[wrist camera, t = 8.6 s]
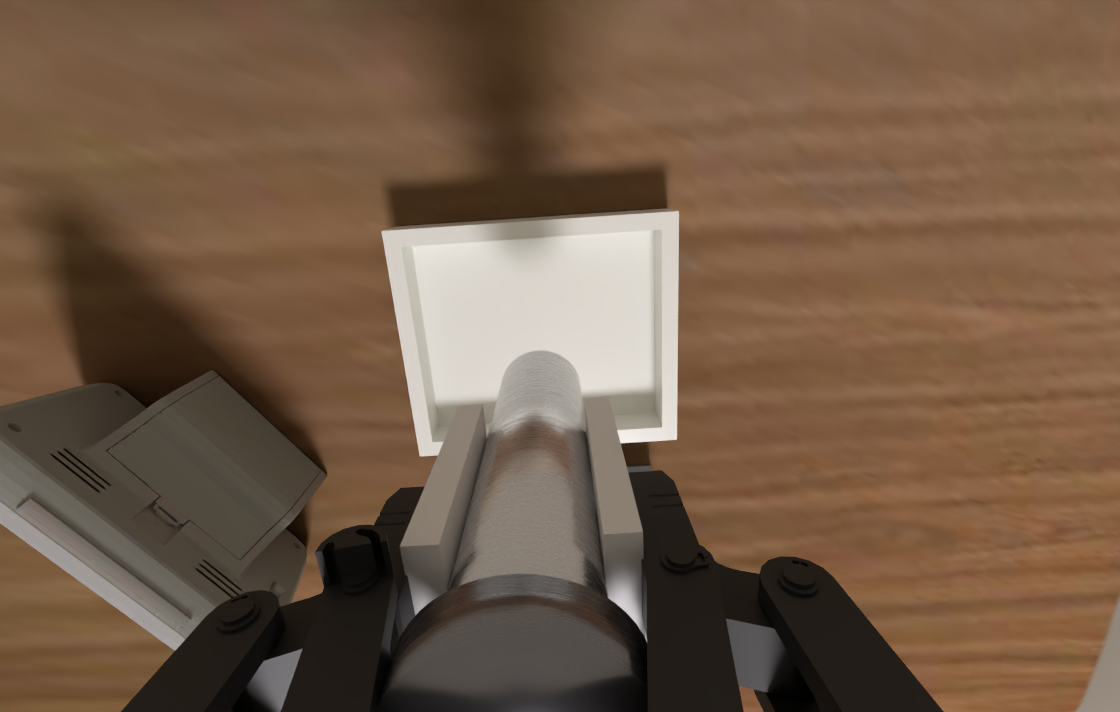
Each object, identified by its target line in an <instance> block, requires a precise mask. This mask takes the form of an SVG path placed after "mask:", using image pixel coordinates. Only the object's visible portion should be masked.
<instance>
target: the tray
mask: <svg viewBox="0 0 1120 712" xmlns="http://www.w3.org/2000/svg"><path fill="white" fill-rule="evenodd" d="M382 236H383V242H384V248H385V254H386V260H387V266H388V272H389V278H390V283H391V289H392V295H393V301H394V307H395V313H396V319H397V325H398V331H399V336H400V342H401V348H402V354H403V360H404V366H405V372H406V378H407V384H408V390H409V395H410V401H411V407H412V413H413V419H414V425H415V431H416V437H417V443H418V448H419V454H420V456H434V455H438V454H439V452H440V449H441V447H442V444H443V442H444V440H445V437H446V435H447V432H448V430H449V428H450V425H451V423H452V420H453V418H454V416H455V413H456V411H457V409H458V406H464V405H480V404H483V409H484V418H485V426H486V434H487V437H488V433H489V429H490V425H491V421H492V417H493V413H494V410H495V406H496V402H497V398H498V394H499V390H500V386H501V382H502V378H503V375H504V373H505V371H506V369H507V367H508V366H509V365H510V364H511V362H513V361H514V360H515V359H516V358H517V357H519V356H521V355H523V354H525V353H528V352H531V351H538V350H542V351H550V352H554V353H556V354H559V355H561V356H562V357H564V358H565V359H567V360H568V361H569V362H570V363H571V364H572V365H573V367H574V368H575V370H576V371H577V374H578V376H579V380H580V386H581V393H582V401H583V409H584V416H585V401H584V398H590V397H606V396H609V399H610V403H611V407H612V411H613V415H614V419H615V423H616V427H617V431H618V435H619V439H620V443H633V442H649V441H664V440H677V369H678V258H679V211H677V210H673V209H668V208H665V209H650V210H635V211H620V212H605V213H590V214H575V215H560V216H545V217H531V218H516V219H501V220H486V221H471V222H456V223H441V224H426V225H411V226H397V227H393V228H390V229H387V230H383V231H382ZM585 424H586V420H585Z"/></svg>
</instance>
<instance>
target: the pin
mask: <svg viewBox="0 0 1120 712" xmlns="http://www.w3.org/2000/svg"><path fill="white" fill-rule="evenodd" d="M377 711H378V712H648V684H647V641H646V639H645V637H644V635H643V633H642V632H641V630H640V629H639V627H638V626H637V624H636V623H635V622H634V621H633V619H632V618H631V617H630V616H629V615H628V614H627V613H626V612H625V611H624V610H623V609H622V608H620V607H619V606H618V605H617V604H616V603H615V602H613V601H611V600H610V599H608V592H607V588H606V584H605V576H604V568H603V560H602V553H601V545H600V537H599V529H598V521H597V514H596V506H595V498H594V490H593V482H592V475H591V467H590V459H589V451H588V443H587V436H586V424H585V416H584V409H583V401H582V393H581V386H580V380H579V376H578V374H577V371H576V370H575V368H574V367H573V365H572V364H571V363H570V362H569V361H568V360H567V359H565V358H564V357H562V356H561V355H559V354H556V353H554V352H550V351H542V350H538V351H531V352H528V353H525V354H523V355H521V356H519V357H517V358H516V359H515V360H514V361H513V362H511V364H510V365H509V366H508V367H507V369H506V371H505V373H504V375H503V378H502V382H501V386H500V390H499V394H498V398H497V402H496V406H495V410H494V413H493V417H492V421H491V425H490V429H489V433H488V437H487V441H486V445H485V449H484V452H483V456H482V460H481V464H480V468H479V472H478V476H477V480H476V484H475V488H474V491H473V495H472V499H471V503H470V507H469V511H468V515H467V519H466V523H465V527H464V530H463V534H462V538H461V542H460V546H459V550H458V554H457V558H456V562H455V566H454V569H453V573H452V577H451V581H450V585H449V589H448V591H447V592H445V593H443V594H442V595H440V596H439V597H437V598H435V599H434V600H432V601H431V602H430V603H429V604H427V605H426V606H425V607H424V608H422V609H421V610H420V611H419V612H418V613H417V614H416V615H415V617H414V618H413V619H412V620H411V621H410V622H409V624H408V625H407V627H406V628H405V630H404V631H403V633H402V634H401V637H400V639H399V641H398V643H397V646H396V648H395V651H394V654H393V657H392V660H391V663H390V666H389V669H388V672H387V675H386V678H385V681H384V685H383V688H382V692H381V695H380V698H379V702H378V705H377Z"/></svg>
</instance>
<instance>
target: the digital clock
mask: <svg viewBox="0 0 1120 712" xmlns="http://www.w3.org/2000/svg"><path fill="white" fill-rule="evenodd" d="M326 477H327V475H326V474H325V473H324V472H323V471H322V470H321V469H320V468H319V467H318V466H316V465H315V464H314V463H313V462H312V461H311V460H310V459H309V458H308V457H307V456H306V455H305V454H303V453H302V452H301V451H300V450H299V449H298V448H297V447H296V446H295V445H294V444H293V443H292V442H290V441H289V440H288V439H287V438H286V437H285V436H284V435H283V434H282V433H281V432H280V431H279V430H277V429H276V428H275V427H274V426H273V425H272V424H271V423H270V422H269V421H268V420H267V419H265V418H264V417H263V416H262V415H261V414H260V413H259V412H258V411H257V410H256V409H255V408H254V407H252V406H251V405H250V404H249V403H248V402H247V401H246V400H245V399H244V398H243V397H242V396H241V395H239V394H238V393H237V392H236V391H235V390H234V389H233V388H232V387H231V386H230V385H229V384H228V383H226V382H225V381H224V380H223V379H222V378H221V377H220V376H219V375H218V374H217V373H216V372H215V371H213V370H211V371H209V372H207V373H205V374H204V375H202V376H200V377H198V378H196V379H195V380H193V381H191V382H189V383H187V384H186V385H184V386H182V387H180V388H178V389H177V390H175V391H173V392H171V393H169V394H168V395H166V396H164V397H163V398H161V399H159V400H158V401H156V402H155V403H153V404H152V405H151V406H149V407H148V408H146V407H145V406H143V405H142V404H141V403H140V402H139V401H138V400H136V399H135V398H134V397H133V396H131V395H130V394H129V393H128V392H127V391H125V390H124V389H123V388H121V387H119V386H118V385H115V384H111V383H95V384H88V385H83V386H79V387H75V388H71V389H67V390H63V391H59V392H55V393H51V394H48V395H44V396H40V397H36V398H32V399H28V400H24V401H20V402H16V403H12V404H8V405H4V406H0V524H2V525H3V526H5V527H6V528H7V529H9V530H10V531H11V532H13V533H14V534H16V535H17V536H18V537H20V538H21V539H22V540H24V541H25V542H27V543H28V544H29V545H31V546H32V547H33V548H35V549H36V550H37V551H39V552H40V553H42V554H43V555H44V556H46V557H47V558H48V559H50V560H51V561H53V562H54V563H55V564H57V565H58V566H59V567H61V568H62V569H64V570H65V571H66V572H68V573H69V574H70V575H72V576H73V577H75V578H76V579H77V580H79V581H80V582H81V583H83V584H84V585H86V586H87V587H88V588H90V589H91V590H92V591H94V592H95V593H96V594H98V595H99V596H101V597H102V598H103V599H105V600H106V601H107V602H109V603H110V604H112V605H113V606H114V607H116V608H117V609H118V610H120V611H121V612H123V613H124V614H125V615H127V616H128V617H129V618H131V619H132V620H134V621H135V622H136V623H138V624H139V625H140V626H142V627H143V628H145V629H146V630H147V631H149V632H150V633H151V634H153V635H154V636H156V637H157V638H158V639H160V640H161V641H162V642H164V643H165V644H166V645H168V646H169V647H171V648H172V649H173V650H175V651H176V649H177V648H178V647H179V646H180V645H181V644H182V643H183V642H184V640H185V639H186V638H187V637H188V636H189V635H190V634H191V633H192V631H193V630H194V629H195V628H196V627H197V626H198V625H199V624H200V622H201V621H202V620H203V619H204V618H205V617H206V616H207V615H208V614H209V613H210V612H211V611H213V610H214V609H215V608H216V607H217V606H219V605H220V604H222V603H224V602H225V601H227V600H229V599H230V598H232V597H235V596H237V595H240V594H243V593H246V592H250V591H257V590H264V591H270V592H273V593H274V594H275V595H276V596H277V597H278V599H279V602H280V606H284V605H287V604H290V603H291V602H292V600H293V597H294V594H295V592H296V589H297V586H298V584H299V581H300V578H301V576H302V573H303V570H304V567H305V563H306V557H307V551H306V548H305V546H304V545H303V544H302V543H301V542H300V541H299V540H298V539H297V538H296V537H295V536H294V535H293V534H292V533H291V532H289V531H288V530H287V529H286V527H287V526H288V525H289V524H290V523H291V522H292V521H293V520H294V519H295V517H296V516H297V515H298V514H299V512H300V511H301V510H302V509H303V507H304V506H305V505H306V503H307V502H308V501H309V499H310V498H311V497H312V495H313V494H314V493H315V491H316V490H317V489H318V487H319V486H320V485H321V483H322V482H323V481H324V479H325V478H326Z"/></svg>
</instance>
